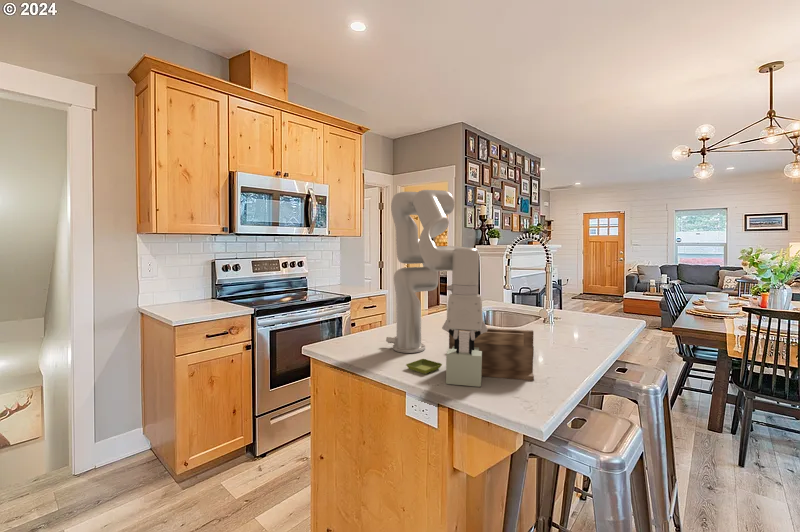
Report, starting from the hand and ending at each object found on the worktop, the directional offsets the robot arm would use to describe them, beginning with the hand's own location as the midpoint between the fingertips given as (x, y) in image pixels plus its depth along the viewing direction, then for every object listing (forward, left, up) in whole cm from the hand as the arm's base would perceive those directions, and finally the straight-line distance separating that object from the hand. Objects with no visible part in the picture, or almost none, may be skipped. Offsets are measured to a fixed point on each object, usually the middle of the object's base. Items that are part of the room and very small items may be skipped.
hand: (464, 351), depth 117 cm
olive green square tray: (-14, +10, -10) cm, 20 cm away
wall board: (+7, +10, -9) cm, 15 cm away
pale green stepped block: (0, +2, -9) cm, 9 cm away
